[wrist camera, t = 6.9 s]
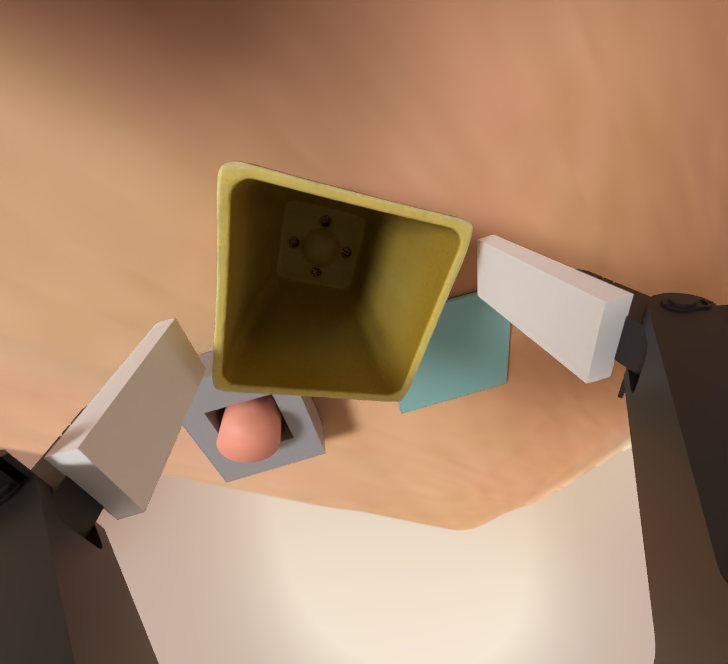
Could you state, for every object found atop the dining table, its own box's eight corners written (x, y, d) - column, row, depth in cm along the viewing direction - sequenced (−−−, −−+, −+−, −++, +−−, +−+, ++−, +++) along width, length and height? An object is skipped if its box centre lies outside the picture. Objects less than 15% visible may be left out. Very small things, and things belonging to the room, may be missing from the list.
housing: (172, 361, 22) (155, 390, 19) (284, 331, 22) (283, 355, 19) (232, 450, 27) (226, 482, 24) (322, 424, 27) (325, 453, 25)
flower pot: (368, 319, 23) (405, 406, 15) (241, 301, 20) (210, 394, 13) (405, 192, 19) (480, 223, 11) (253, 149, 16) (216, 154, 9)
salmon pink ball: (218, 389, 23) (205, 432, 20) (271, 374, 23) (267, 414, 20) (240, 425, 25) (232, 469, 22) (289, 411, 25) (288, 453, 22)
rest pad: (382, 317, 23) (383, 319, 23) (510, 282, 23) (513, 284, 23) (400, 410, 28) (401, 413, 28) (504, 380, 29) (506, 383, 28)
